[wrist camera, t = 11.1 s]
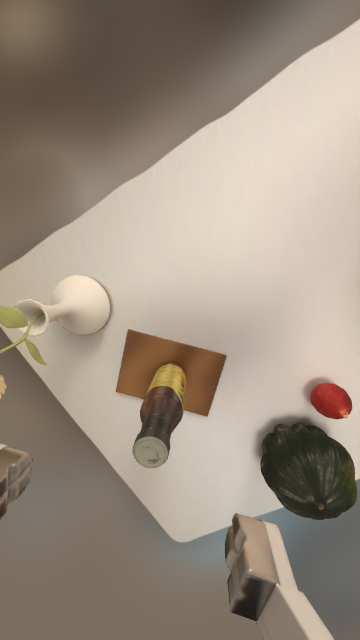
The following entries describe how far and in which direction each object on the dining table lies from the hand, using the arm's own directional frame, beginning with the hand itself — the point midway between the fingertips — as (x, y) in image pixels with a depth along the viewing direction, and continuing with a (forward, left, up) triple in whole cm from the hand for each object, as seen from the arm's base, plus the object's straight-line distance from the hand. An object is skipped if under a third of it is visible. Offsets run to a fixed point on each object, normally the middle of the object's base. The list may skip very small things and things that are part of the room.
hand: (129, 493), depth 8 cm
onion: (-29, +7, -33) cm, 44 cm away
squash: (-28, +19, -33) cm, 47 cm away
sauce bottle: (0, +11, -33) cm, 34 cm away
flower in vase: (+19, +3, -33) cm, 38 cm away
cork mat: (0, +12, -33) cm, 35 cm away
